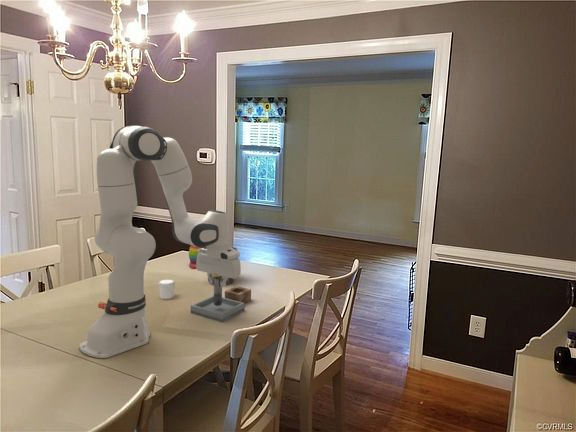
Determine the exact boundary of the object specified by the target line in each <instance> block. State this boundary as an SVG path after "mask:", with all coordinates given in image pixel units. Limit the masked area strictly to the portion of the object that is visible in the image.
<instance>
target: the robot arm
mask: <svg viewBox="0 0 576 432" xmlns="http://www.w3.org/2000/svg"><path fill="white" fill-rule="evenodd" d="M159 133H160V132H159ZM159 133H158V131H157V130H155V129H153V128H152V127H149V126H141V125H127V126H122V127H121V128H119V129H118V130H116V131H115V133H114V135H113V138H112V141H111V143H110V145H109V148H107V149H104V150H102V151H101V152H100V153H99V154H98V155H97V156H96V157H97V158H96V183H97V190H98V197H99V203H100V216H99V217H100V219H99V224H98V225H99V226H98V228H97V229H96V230H95V234H94V242H95V245H96V246H97V247H98V248H99V249H100V250H101V251H102V252H103V253H105V254H107V255H111V256H113V257H114V259H115V260H114V266H113V270H112V271H111V272H110V273H109V274H108V277H107V281H108V298H107V302H106V303H105V302H103V301H100V302H99V303H98V304H97V307H98V309H101V310H104V311H103V313H102V314H101V315H99V317H98V318H97V319H96V320H95V321H94V322H93V323H92V324H91V326H90V327H89V328H88V330H87V334H86V340H84V341H83V342H80V343H79V350H80V352H82V353H83V354H85V355H86V356H90V357H93V358H97V359H107V358H110V357H113V356H116V355H119V354H121V353H124V352H127V351H129V350H132V349H135V348H138V347H140V346H144V345H147V344H148V343H149V342H150V340H149V337H150V335H151V331H150V327H149V324H148V322H147V321H148V320H147V316H146V305H147V303H146V294H145V287H144V286H145V285H144V284H145V280H144V279H145V278H144V277H145V270H146V265H147V262H148V260H149V259H150V258H152V256H153V255H154V253H155V252H156V247H157V246H156V245H157V244H156V239H155V238H154V235H152V234H151V233H149V232H148V231H146V230H145V229H144V228H140V227H136V226H133V222H132V220H133V214H134V211H136V209H137V207H138V199H137V197H138V196H137V191H136V183H135V177H134V176H135V175H134V168H135V164H136V163H137V161H143V162H149V161H150V162H151V163H152V164H153V167H154V168H155V171H156V174H157V177H158V179H159V182H160V185H161V187H162V191H163V196H164V200H165V203H166V206H167V208H168V212H169V216H170V219H171V232H172V233H171V234H172V236H173V238H174V239H175V241H177V242H179V243H182V244H187V245H188V246H189V245H190V246H191V245H192V246H196V247H205V249H204V248H200V249H199V250H198V256H197V261H196V268H197V269H196V270H197V271H199V272H202V273H207V274H206V275H207V279H208V278H209V280H210V283H209V284H210V285H212V284H214V278H213V276H212V273H214V274H218V275H219V276H222V279H223V281H222V282H220V284H221V285H220V286H222V288H225V287H226V286H227V285H226V281H227V280H228V278H232V279H233V280H234V279H237V278H239V277H240V276H241V274H242V273H241V271H242V270H241V268H242V267H241V266H242V265H241V260H240V259H239V257H240V255H241V254H240V251H238V250H237V251H236V250H235V249H233V248H232V247H233V246H230V241H229V235H230V221H229V216H228V214H227V213H226V212H225V211H221V210H214V209H210V210H208V211H207V212H206V214H205V215H203V216H202V217H200V218H199V219H194V218H192V217H191V216H190V215H189V214H188V211H187V208H186V204H185V201H184V197H183V195H184V193H185V192H186V191H188V190H189V189H190V187H191V185H192V183H193V175H192V174H193V173H192V170H191V168H190V165H189V163H188V160H187V157H186V155H185V154H184V151H183V149H182V148H181V146H180V144H179V143H178V141H177V140H176V139H174V138H172V137H163V136H162V135H161V134H159Z"/></svg>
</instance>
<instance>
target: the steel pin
mask: <svg viewBox="0 0 576 432" xmlns="http://www.w3.org/2000/svg"><path fill="white" fill-rule="evenodd" d="M212 276H213V277H214V285H213V296H214V305H215V306H220V305H222V297H223V287H222V286H220V285H221V284H220V282H222V276H219V275H218V274H214V273H212Z"/></svg>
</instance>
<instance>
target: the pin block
mask: <svg viewBox="0 0 576 432" xmlns="http://www.w3.org/2000/svg"><path fill="white" fill-rule="evenodd" d="M224 298H227V299H231V300H235V301H238V302H242V303H245V304H247V303H249V302H251V301H252V289H251V288H247V287H242V286H237V285H236V286H233V287H231V288H228V289H227V290H225V291H224Z"/></svg>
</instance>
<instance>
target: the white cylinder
mask: <svg viewBox="0 0 576 432" xmlns="http://www.w3.org/2000/svg"><path fill="white" fill-rule="evenodd" d="M157 283H158V289H159V290H158V291H159V297H160V300H161V299H162V300H170V299H172V298H174V297H175V296H174V295H175V280H174V279H171V278H170V279H168V278H167V279H160V280H159V281H158V282H157Z"/></svg>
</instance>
